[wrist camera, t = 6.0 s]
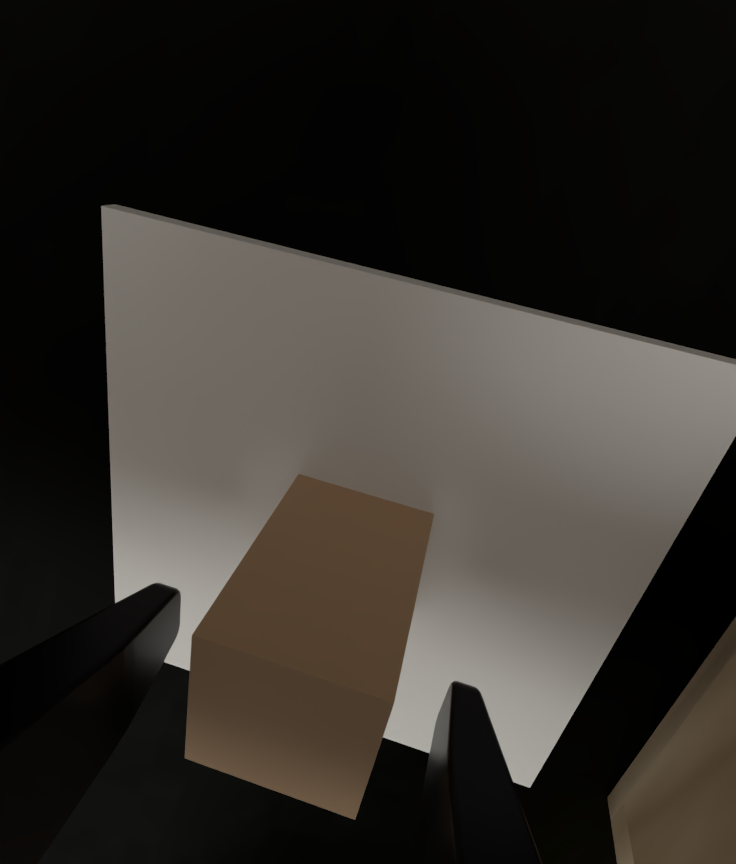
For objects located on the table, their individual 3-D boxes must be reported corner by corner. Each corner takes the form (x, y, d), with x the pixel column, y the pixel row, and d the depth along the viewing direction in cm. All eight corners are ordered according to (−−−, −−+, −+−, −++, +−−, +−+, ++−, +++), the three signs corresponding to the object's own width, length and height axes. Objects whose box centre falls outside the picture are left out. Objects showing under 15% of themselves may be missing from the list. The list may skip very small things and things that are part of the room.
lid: (745, 351, 9) (982, 550, 4) (528, 747, 14) (537, 1025, 9) (137, 201, 10) (-160, 238, 6) (139, 616, 15) (-16, 810, 10)
